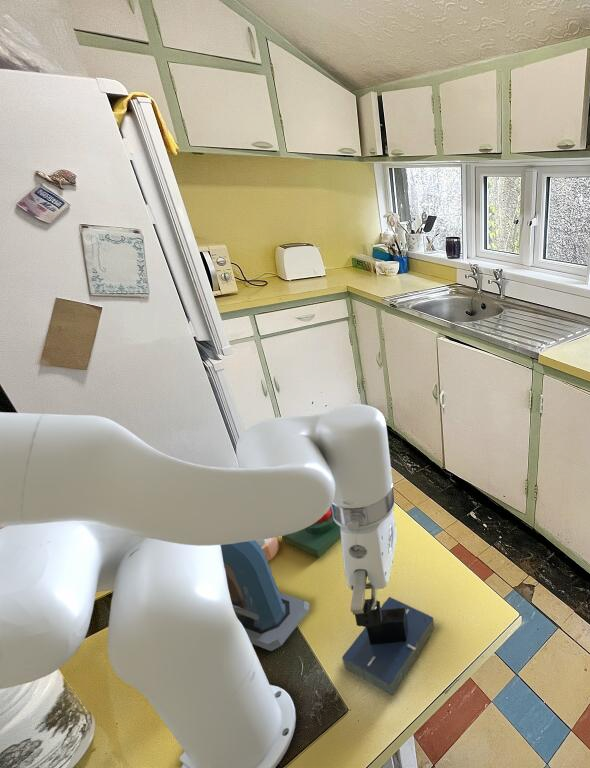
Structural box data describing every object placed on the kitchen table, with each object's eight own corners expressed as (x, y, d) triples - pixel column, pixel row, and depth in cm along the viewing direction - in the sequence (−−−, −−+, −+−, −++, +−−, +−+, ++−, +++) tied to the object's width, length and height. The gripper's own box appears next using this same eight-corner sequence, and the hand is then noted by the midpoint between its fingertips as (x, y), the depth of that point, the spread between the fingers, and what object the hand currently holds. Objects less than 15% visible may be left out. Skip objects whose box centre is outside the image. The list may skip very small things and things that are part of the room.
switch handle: (408, 627, 66) (405, 606, 63) (406, 641, 64) (403, 620, 61) (373, 630, 65) (368, 609, 63) (370, 644, 63) (365, 623, 61)
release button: (320, 526, 84) (318, 519, 83) (306, 519, 85) (304, 513, 84) (335, 513, 87) (334, 506, 86) (321, 507, 88) (319, 501, 88)
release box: (319, 558, 81) (315, 543, 79) (283, 541, 84) (278, 527, 83) (362, 517, 91) (359, 503, 89) (328, 503, 94) (324, 490, 93)
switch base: (394, 697, 60) (392, 685, 58) (343, 667, 63) (339, 655, 62) (436, 629, 69) (435, 617, 67) (389, 606, 72) (387, 595, 71)
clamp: (314, 604, 72) (286, 513, 63) (275, 653, 65) (236, 559, 55) (168, 553, 81) (124, 467, 72) (118, 591, 74) (62, 501, 64)
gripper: (381, 552, 44) (394, 649, 52) (402, 457, 60) (410, 542, 67) (308, 556, 44) (332, 654, 51) (349, 459, 59) (362, 545, 66)
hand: (376, 591), depth 59 cm, fingers open, 9 cm apart
